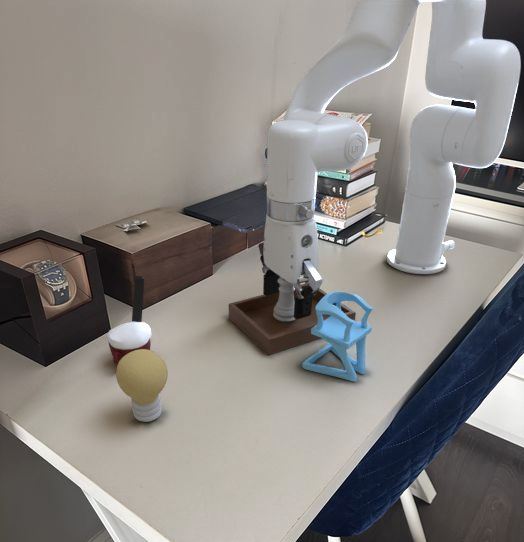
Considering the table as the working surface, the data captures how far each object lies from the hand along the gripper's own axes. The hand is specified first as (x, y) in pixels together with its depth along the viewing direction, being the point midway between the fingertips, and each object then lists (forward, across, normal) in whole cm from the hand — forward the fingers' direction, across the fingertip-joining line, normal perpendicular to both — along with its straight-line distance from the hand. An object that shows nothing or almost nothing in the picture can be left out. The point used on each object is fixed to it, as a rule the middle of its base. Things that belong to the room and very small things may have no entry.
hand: (286, 304), depth 89 cm
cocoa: (+3, +2, +27) cm, 27 cm away
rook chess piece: (+3, 0, 0) cm, 3 cm away
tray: (+3, -1, 0) cm, 3 cm away
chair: (+3, -16, +1) cm, 16 cm away
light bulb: (+3, -12, +30) cm, 33 cm away
